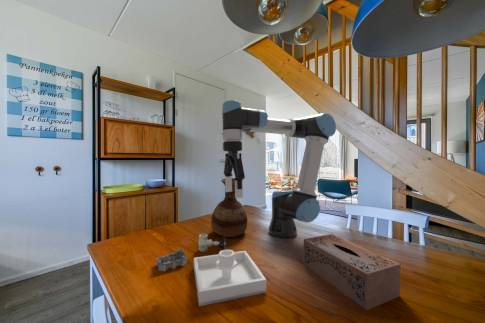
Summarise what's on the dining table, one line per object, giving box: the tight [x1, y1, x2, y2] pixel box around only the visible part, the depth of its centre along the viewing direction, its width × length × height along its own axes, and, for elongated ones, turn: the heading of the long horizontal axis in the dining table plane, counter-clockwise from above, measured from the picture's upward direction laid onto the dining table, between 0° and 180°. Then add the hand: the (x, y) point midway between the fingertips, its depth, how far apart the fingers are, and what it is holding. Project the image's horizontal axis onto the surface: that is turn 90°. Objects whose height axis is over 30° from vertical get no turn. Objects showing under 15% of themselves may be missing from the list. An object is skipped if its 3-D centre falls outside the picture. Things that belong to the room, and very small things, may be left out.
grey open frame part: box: [155, 248, 188, 272], centre depth 78 cm, size 11×8×4 cm
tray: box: [193, 250, 267, 307], centre depth 68 cm, size 20×20×4 cm
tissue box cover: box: [302, 233, 401, 311], centre depth 70 cm, size 26×14×10 cm, turn 23°
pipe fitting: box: [216, 249, 237, 279], centre depth 69 cm, size 6×7×8 cm
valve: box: [197, 233, 228, 252], centre depth 90 cm, size 7×7×12 cm
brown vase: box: [210, 177, 248, 238], centre depth 111 cm, size 20×20×30 cm
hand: (233, 194), depth 81 cm, fingers open, 13 cm apart
